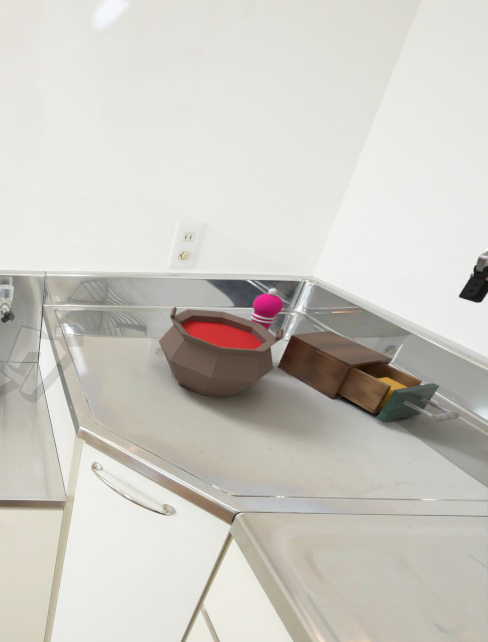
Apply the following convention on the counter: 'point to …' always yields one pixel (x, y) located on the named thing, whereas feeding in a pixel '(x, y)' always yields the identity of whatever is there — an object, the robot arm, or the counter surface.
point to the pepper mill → (266, 308)
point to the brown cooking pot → (217, 351)
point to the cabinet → (326, 360)
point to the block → (394, 386)
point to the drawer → (401, 403)
